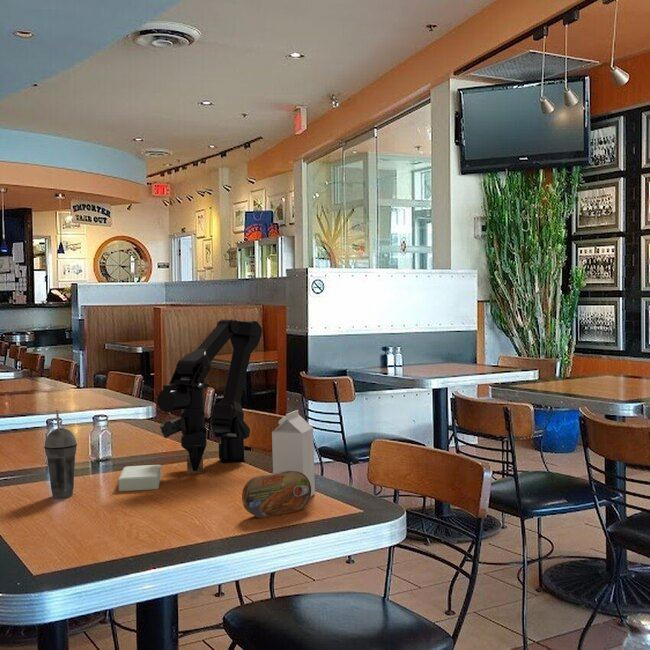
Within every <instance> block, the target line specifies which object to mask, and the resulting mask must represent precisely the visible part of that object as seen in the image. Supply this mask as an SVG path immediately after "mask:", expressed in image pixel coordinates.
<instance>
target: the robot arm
mask: <svg viewBox="0 0 650 650" xmlns="http://www.w3.org/2000/svg"><path fill="white" fill-rule="evenodd" d="M262 334H263V328H262V326H261V325H260V323H259V322H258V321H257V320H236V319H233V318H231V319H228V318H227V319H226V318H225V319H220V320H219V321H218V322H217V324H216V326H215V327H214V328H213V330H212V331H211V332H210V333H209V334H208V336H207V337H205V339H204V340H203V342H202V343H200V345H199V346H198V347H197V348H196V349H195V350H193V351H191V352H189V353H187V354H186V355H184V356H183V357H182V358H180V359H179V360H178V362H177V364H176V368H175V369H174V371H173V374H172V376H171V379H170V380H169V384H164V385H162V390H160V392H159V393H158V396H157V398H156V401H157V407H158V408H159V410H160V411H161V412H162V413H165V414H166V413H172V412H177V411H181V412H180V416H178V417H176V418H174V419H168V420H167V421H164V422H162V424H160V425H159V428H160V432H161V435H162V436H163V438H164V439H167V438H170V436H173V435H174V434H177V433H179V432H180V433H181V434H182V435H181V437H180V442H181V443H180V444H181V447H182V448H183V449H184V450H185V451H186V452H187V453H188V455H189V457H190V461H191V465H192V469H193V471H197V470H198V467H199V464H200V462H201V459H202V456H203V455H204V453H205V451H206V447H207V443H208V442H207V425H206V415H205V414H206V412H205V407H206V406H205V389H208V388H210V385H209V383H207V382H206V381H205V380H206V378H207V376H208V375H209V373H210V371H211V369H212V361H213V360H214V359H215V357H217V355H218V354H219V352H221V350H222V349H223V348H224V347H225V345H226V344H227V343H228V342H229V341H230V344H231V347H232V350H233V351H232V354H231V358H230V359H231V360H230V364H229V368H228V371H227V372H228V373H227V377H226V382H225V387H224V391H223V397H222V399H221V400H220V402H219V403H214V404H213V405H212V412H211V415H210V417H209V418H210V425H211V430H212V432H213V435H214V438H215V439H217V438H219V439H220V441H219V442H218V459H219V460H220V463H230V462H234V463H236V462H246V456H245V439H247V438H250V434H251V428H250V427H249V426H248V424H247V423H246V422H245V421H244V418H245V412H244V409H243V407H242V399H243V398H242V397H243V392H244V388H245V383H246V378H247V374H248V368H249V363H250V359H251V354H252V353H253V351H255V349H256V348H257V347H258V346H259V344H260V340H261V338H262ZM203 457H204V456H203Z"/></svg>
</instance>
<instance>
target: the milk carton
mask: <svg viewBox="0 0 650 650" xmlns="http://www.w3.org/2000/svg"><path fill="white" fill-rule="evenodd" d="M277 423H278V424H279V425H278V426H277V427H276V428H275V429H274V430H272V432H271V440H272V441H271V443H272V444H271V445H272V447H271V448H272V474H273V473H279V472H285V471H298V472H301V473H303V474H304V475H305V476H306V477H307V478H308V479H309V482H310V484H311V496H310V498H311V497H313V496H314V495H315V493H316V488H315V487H316V485H315V484H316V483H315V478H316V477H315V451H314V450H315V449H314V448H315V446H314V427H313V426H312V425H311V424H310V423H309V422H308V421H306V420H305V419H304V418H303V417H302V416H301V415H300V414H299V409H296V410H294V411H291V412H289V413H286V414H285V416H283V417H281V419H279V420H278V422H277Z"/></svg>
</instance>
